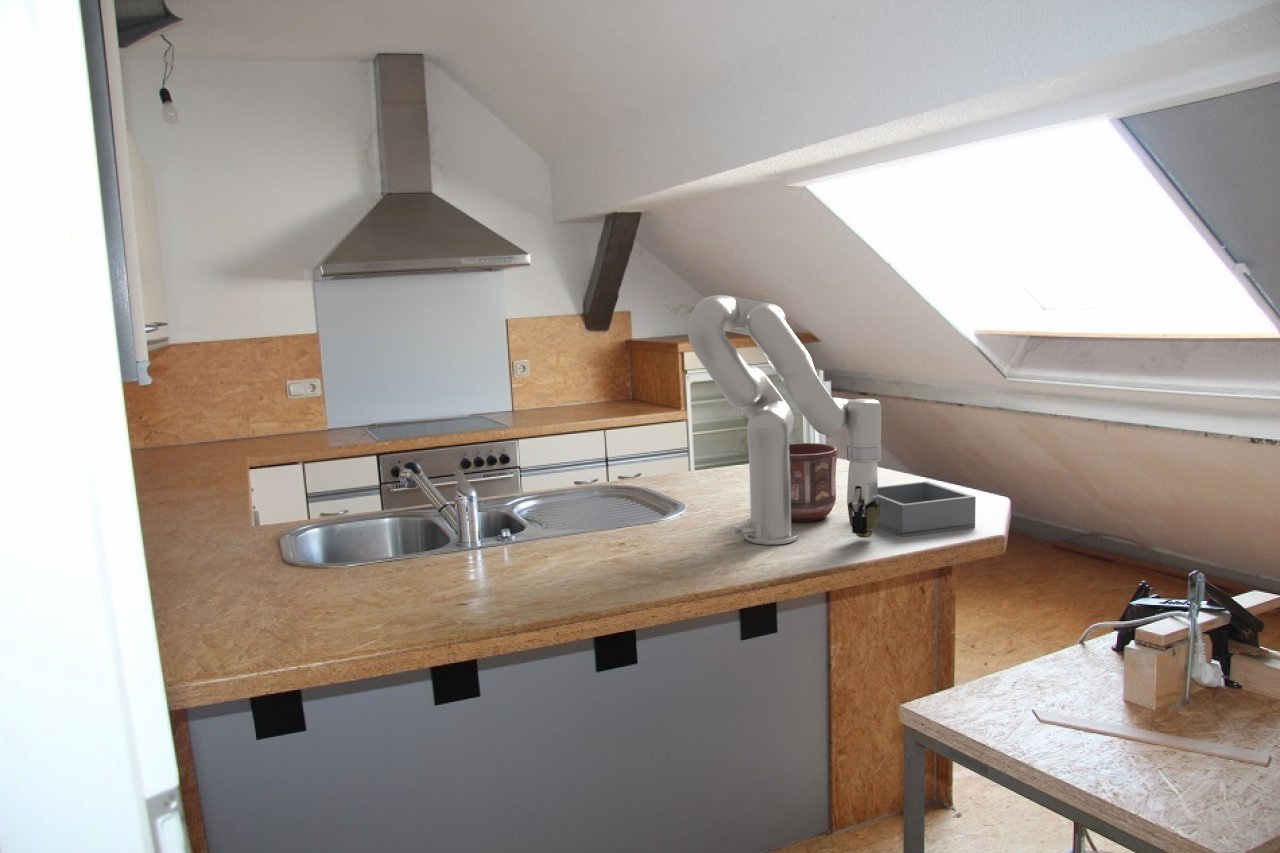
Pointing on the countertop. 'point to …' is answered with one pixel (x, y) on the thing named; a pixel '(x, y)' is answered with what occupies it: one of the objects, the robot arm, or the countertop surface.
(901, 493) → the crate
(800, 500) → the pottery
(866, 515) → the brown patterned lamp shade
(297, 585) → the countertop surface
